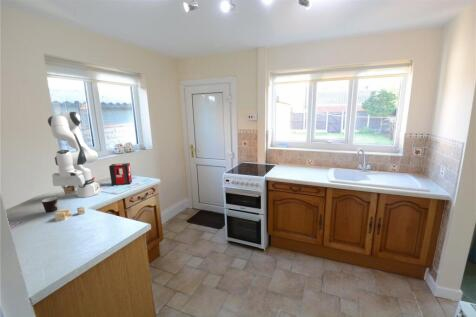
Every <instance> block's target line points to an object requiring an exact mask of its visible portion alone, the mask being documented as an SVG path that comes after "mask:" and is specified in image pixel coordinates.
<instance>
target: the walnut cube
mask: <svg viewBox="0 0 476 317" xmlns="http://www.w3.org/2000/svg"><path fill="white" fill-rule="evenodd" d="M74 188H75V187H74V185H71V186H65V188H64V189H63V192H64V195H67V196H68V195H73V194H76V193H77V191H73V189H74Z"/></svg>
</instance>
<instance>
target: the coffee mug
mask: <svg viewBox="0 0 476 317" xmlns="http://www.w3.org/2000/svg"><path fill="white" fill-rule="evenodd" d="M41 204H42V206H43V209H44V211H45V213H50V214H51V213H53V212H54V213H55V212H57V211H58V197H56V196H55V197H48V198H44V199H42V200H41Z"/></svg>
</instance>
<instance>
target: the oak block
mask: <svg viewBox="0 0 476 317" xmlns="http://www.w3.org/2000/svg"><path fill="white" fill-rule="evenodd" d="M53 214H54V218H55V220H63V221H67V220H68V219H69V217H70V216H71V215H72V213H71V209H70V208H67V209H66V208H65V209H64V208H63V209H59V210H57V211H55V212H54V213H53ZM71 217H72V216H71ZM71 217H70V218H71ZM67 218H68V219H67ZM66 219H67V220H66Z"/></svg>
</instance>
